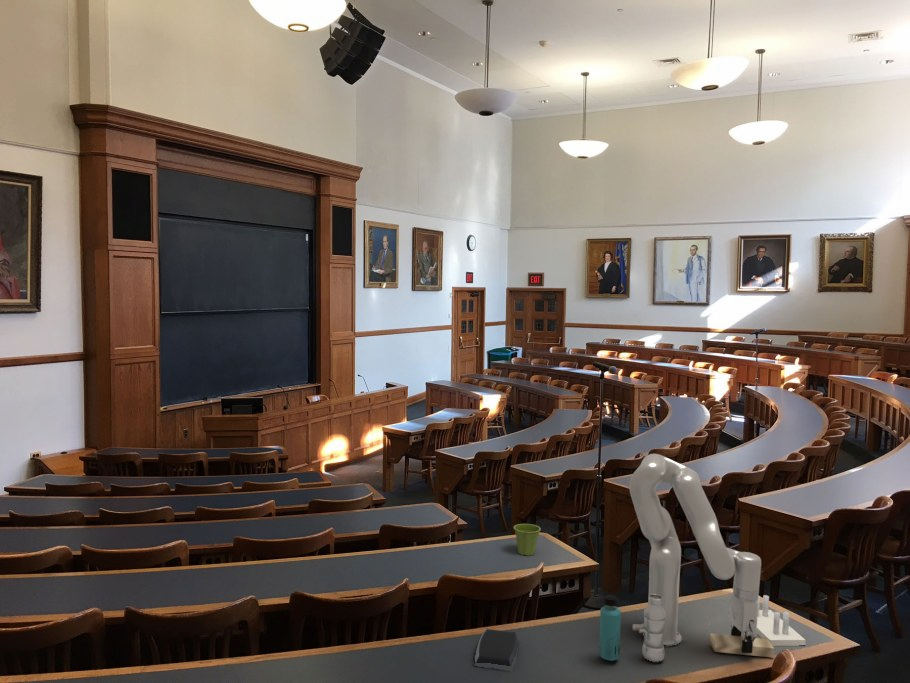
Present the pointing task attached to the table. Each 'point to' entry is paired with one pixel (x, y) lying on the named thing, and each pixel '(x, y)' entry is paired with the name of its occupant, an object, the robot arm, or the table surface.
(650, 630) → the plastic bottle
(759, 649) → the shelf board
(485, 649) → the external hard drive
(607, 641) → the beverage bottle
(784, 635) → the peg stand
